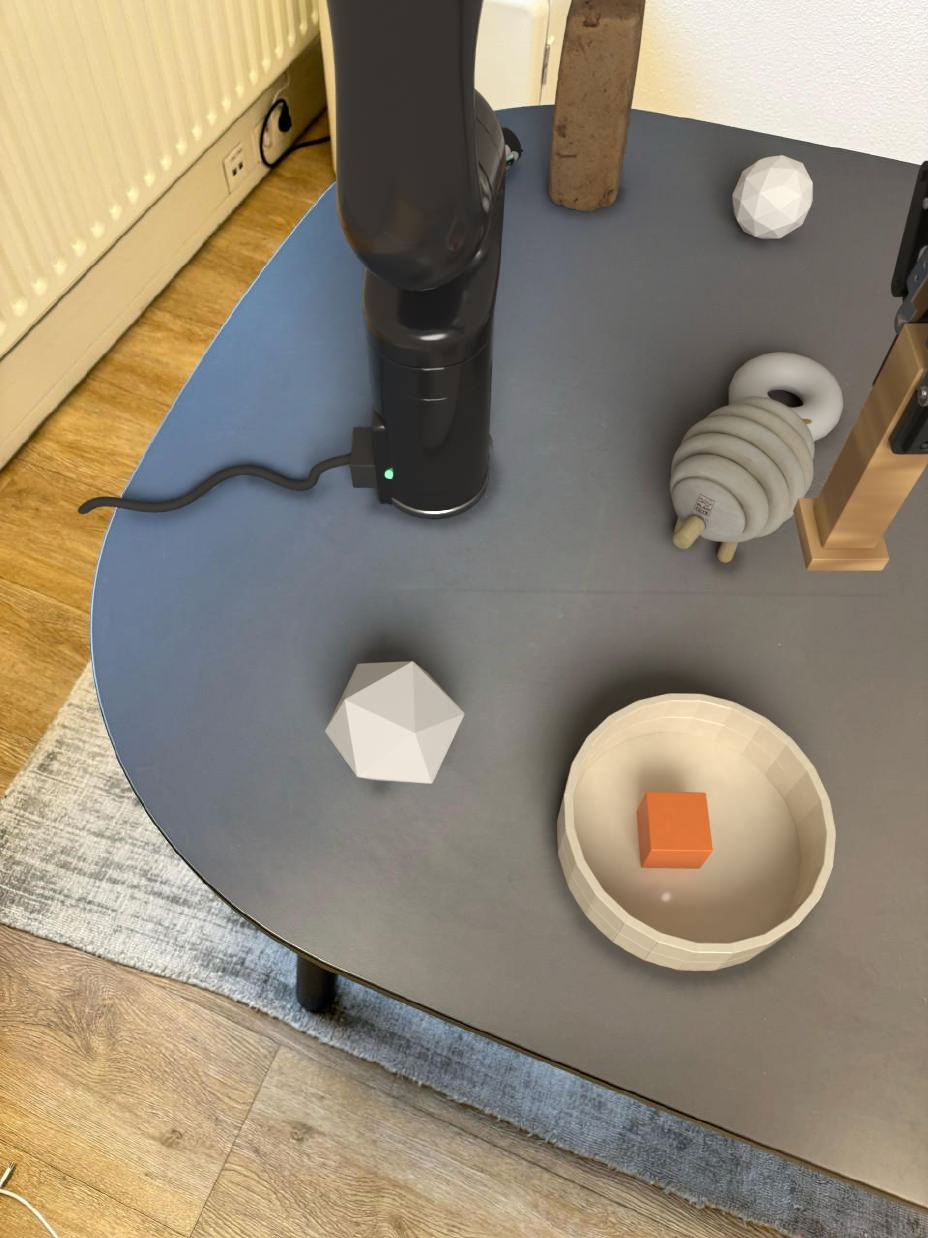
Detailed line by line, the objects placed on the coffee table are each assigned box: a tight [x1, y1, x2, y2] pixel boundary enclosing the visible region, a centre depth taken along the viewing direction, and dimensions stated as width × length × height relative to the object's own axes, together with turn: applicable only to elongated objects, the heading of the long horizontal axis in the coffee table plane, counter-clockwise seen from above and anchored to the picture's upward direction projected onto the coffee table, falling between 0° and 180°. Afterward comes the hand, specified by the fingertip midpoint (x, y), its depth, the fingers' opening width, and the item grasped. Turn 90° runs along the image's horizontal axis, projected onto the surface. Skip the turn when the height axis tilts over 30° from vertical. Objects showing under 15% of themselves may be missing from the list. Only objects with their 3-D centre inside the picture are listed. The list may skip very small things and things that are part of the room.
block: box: [548, 0, 647, 212], centre depth 95 cm, size 11×8×20 cm
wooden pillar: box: [793, 323, 928, 572], centre depth 50 cm, size 4×4×15 cm
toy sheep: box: [669, 396, 816, 563], centre depth 76 cm, size 11×17×11 cm, turn 147°
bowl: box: [556, 692, 837, 972], centre depth 65 cm, size 17×17×6 cm
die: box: [324, 660, 466, 785], centre depth 67 cm, size 8×9×10 cm
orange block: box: [637, 792, 713, 869], centre depth 65 cm, size 4×4×4 cm
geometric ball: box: [731, 154, 814, 240], centre depth 97 cm, size 8×8×8 cm
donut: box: [728, 351, 844, 442], centre depth 86 cm, size 10×4×10 cm
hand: (901, 420), depth 48 cm, fingers closed on wooden pillar, 3 cm apart
